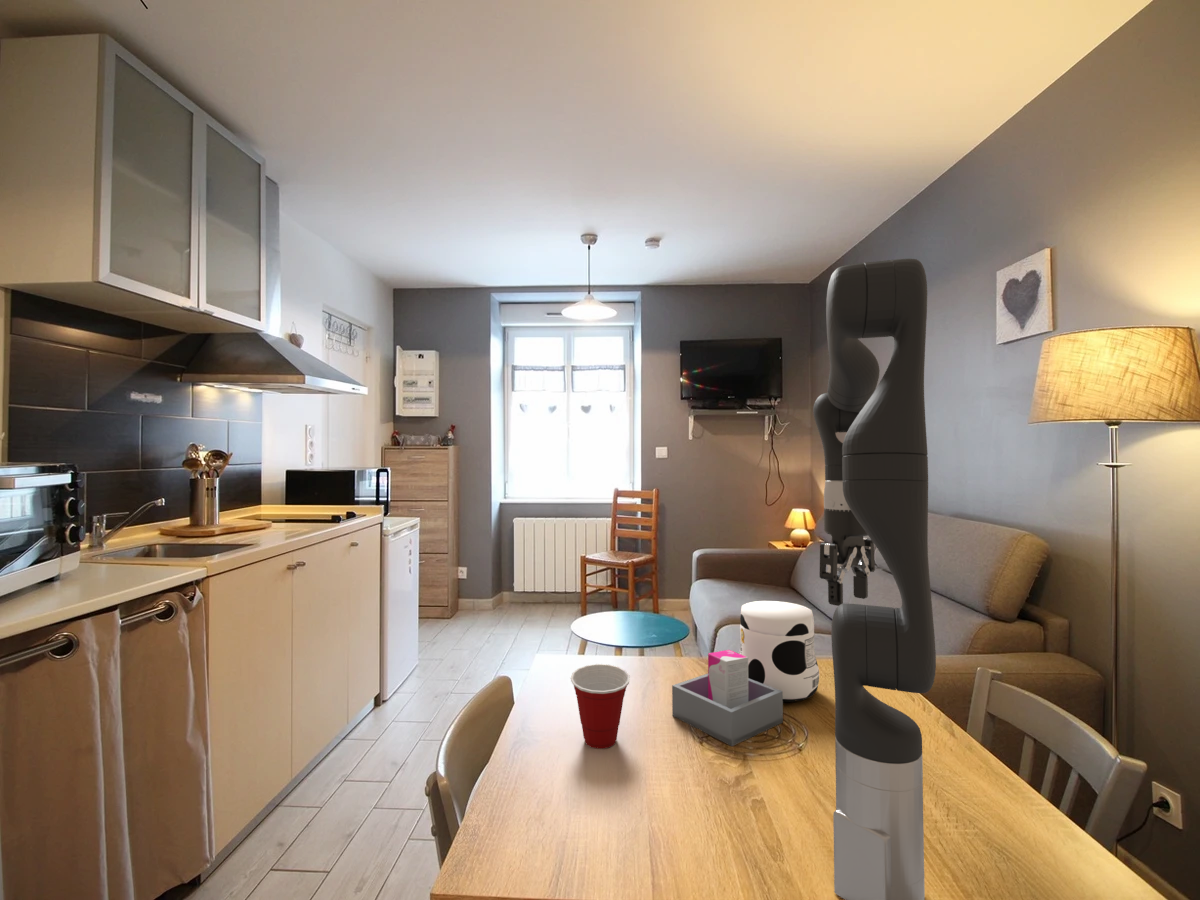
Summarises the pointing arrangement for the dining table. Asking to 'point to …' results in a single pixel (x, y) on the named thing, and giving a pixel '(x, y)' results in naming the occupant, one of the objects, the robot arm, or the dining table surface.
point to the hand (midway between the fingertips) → (848, 601)
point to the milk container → (780, 647)
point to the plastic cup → (600, 702)
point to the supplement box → (728, 678)
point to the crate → (727, 710)
